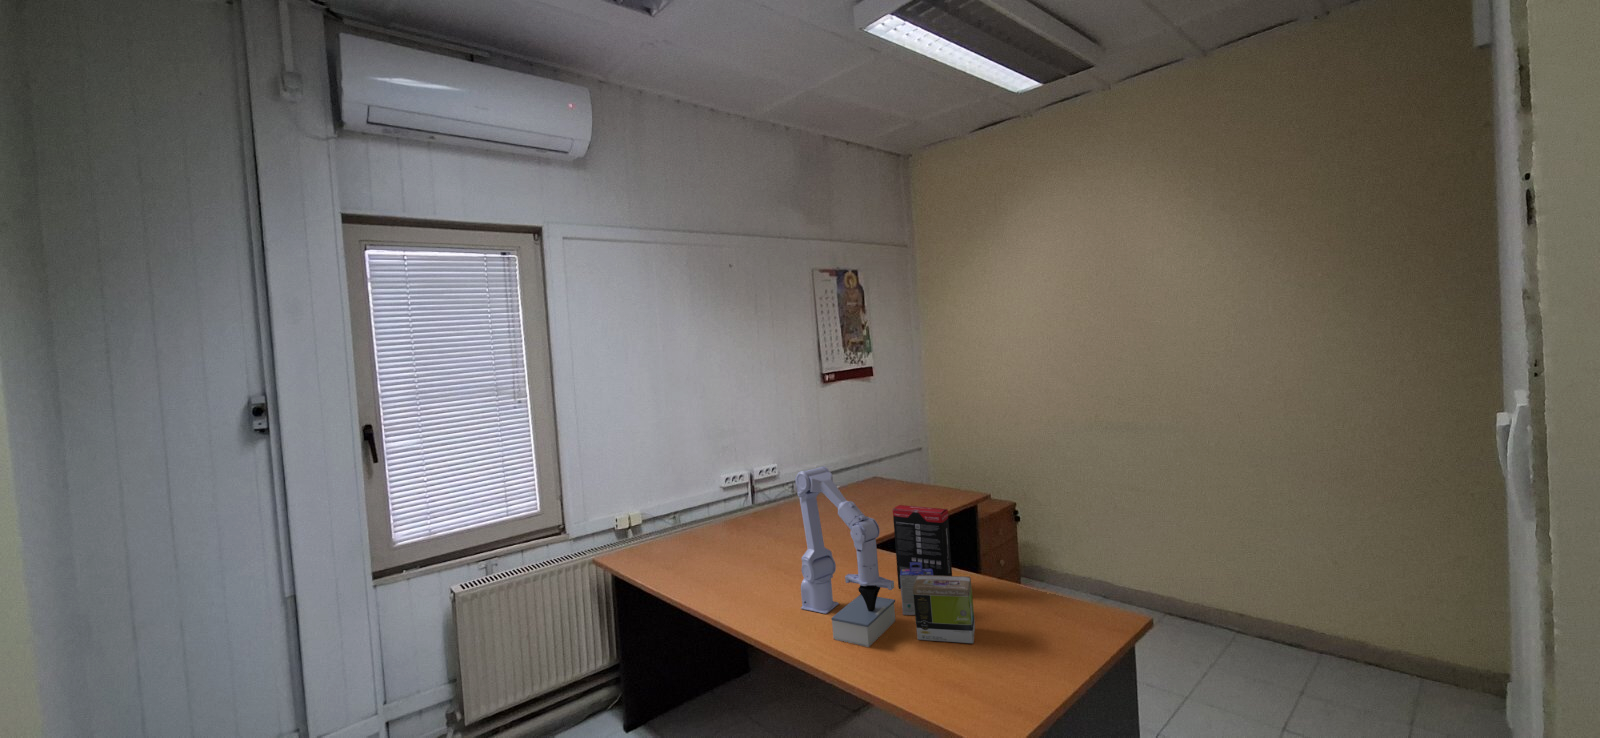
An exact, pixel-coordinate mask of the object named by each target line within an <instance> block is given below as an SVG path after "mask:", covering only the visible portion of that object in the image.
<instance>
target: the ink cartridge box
mask: <svg viewBox="0 0 1600 738" xmlns="http://www.w3.org/2000/svg"><path fill="white" fill-rule="evenodd" d="M912 565H920V567H912ZM918 575H933V570H932V569H922V562H910V569H905V570H901V571H900V584H901V589H900V596H901V608H902V615H903V616H915V608H914V597H913V586H914V584H915V581H916V578H917V576H918Z"/></svg>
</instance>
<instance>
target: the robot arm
mask: <svg viewBox="0 0 1600 738" xmlns="http://www.w3.org/2000/svg"><path fill="white" fill-rule="evenodd" d="M833 480H834V478H833V474H832V473H831V471H830V470H829V468H828V467H826V466H824V465H822V466H820V467H816V468H812V469H807V470H801V471H799V472H798V473H797V474H796V476H795V478H794V481H795V486H796V493H797V497H798V498H799V504H800V509H801V516H802V522H803V527H804V534H805V540H806V547H807V549H806V551H805V552H804V553H803V555H802V556H801V575H802V576H803V579H802V581H801V584H800V594H801V605H802V606H800V609H801V610H805V611H811V612H816V613H821V614H824V615H825V614H828V613H829V612H831V611H832V610H833V609H834V608H836V607H837V606H838V605H840V603H839V602H838V601H834V599H833V586H832V579H833V578H834V574H835V573H836V570H837V567H836V566H837V565H836V564H837V563H836V561H835V559H834V557H833V553H832V551H831V550H830V549H829V548H827V547H825V541H824V536H823V531H822V523H821V519H820V512H819V511H820V510H819V507H818V501H817V500H818V499H817V498H818V495H819V494H820V493H822V494H823V495H824V496H825V497H826V498H827V499H828V500H829V501H830V502H831V504H833V505H834V506H835V507H836V508H837V516H839V518H840V519H841V520H842V521H843V522H844V524H845V525H846V526H847V528H849V530H850V532H849V533H850V537H851V539H852V541H853V547H854V548H855V550H856V551H855V552H856V559H857V560H856V561H857V574H856V573H855V574H854V573H853V574H852V573H847V574H846V575H845V576H844V578H845V579H844V580H845V584H849V583H851V584H859V587H858V589H857V590H858V592H859V593H860V594H861V595H862V596H863V598H864V600H865V603H866V605H867V608H868V611H870V612H872V611H873V610H874V609H875V604H876V599H877V597H878V595H879V592H880V590H881V588H883V589H887V590H889V591H892V590H894V588H895V581H894V580H891V579H888V578H885V577H883V576H880V575H879V574H880V573H879V561H878V559H879V558H878V549H877V539H878V538H879V536H880V526H879V524H878V522H877V521H876V520H875V518H873V517H869V516H868V515H867V516H866V515H865V514H864V513H863V512H862V511H861V509H860V508H859V507H858V506H857V505H856V504H855V502H854V501H852V500H847V499H846V497H845V495H843V493H842V492H841V490H840V489H839V488H838V487H837V486H836V484H835V482H834V481H833Z"/></svg>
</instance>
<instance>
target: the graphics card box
mask: <svg viewBox="0 0 1600 738" xmlns="http://www.w3.org/2000/svg"><path fill="white" fill-rule="evenodd" d="M892 518H893V530H894V543H895V545H894V546H895V556H896V558H895V560H896V575H897V586H898V587H897V588H898V589H900V590H901V584H900V571H901V570H905V569H910V562H922V569H932V570H933V575H934V576H953V568H952V567H953V566H952V556H951V555H952V554H951V553H952V551H951V541H950V537H951V536H950V527H949V526H950V525H949V523H950V522H949V509H947V508H938V507H925V506H916V505H915V506H914V505H906V504H905V505H903V504H899V505H896V506H895V507H894V508H893V509H892ZM912 567H920V565H912Z"/></svg>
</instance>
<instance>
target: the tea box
mask: <svg viewBox="0 0 1600 738" xmlns="http://www.w3.org/2000/svg"><path fill="white" fill-rule="evenodd" d="M971 579H972V578H971V576H966V575H965V576H964V575H961V576H960V575H959V576H958V575H952V576H934V575H918V576H917V578H916V581H915V584H914V586H913V597H914V608H915V615H914V619H915V628H916V638H917V640H918V641H920V640H921V641H931V642H932V641H934V642H935V641H936V642H948V643H949V642H950V643H962V644H974V642H975V632H976V631H975V630H976V628H975V627H976V622H975V609H974V599H973V588H972V580H971Z"/></svg>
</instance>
